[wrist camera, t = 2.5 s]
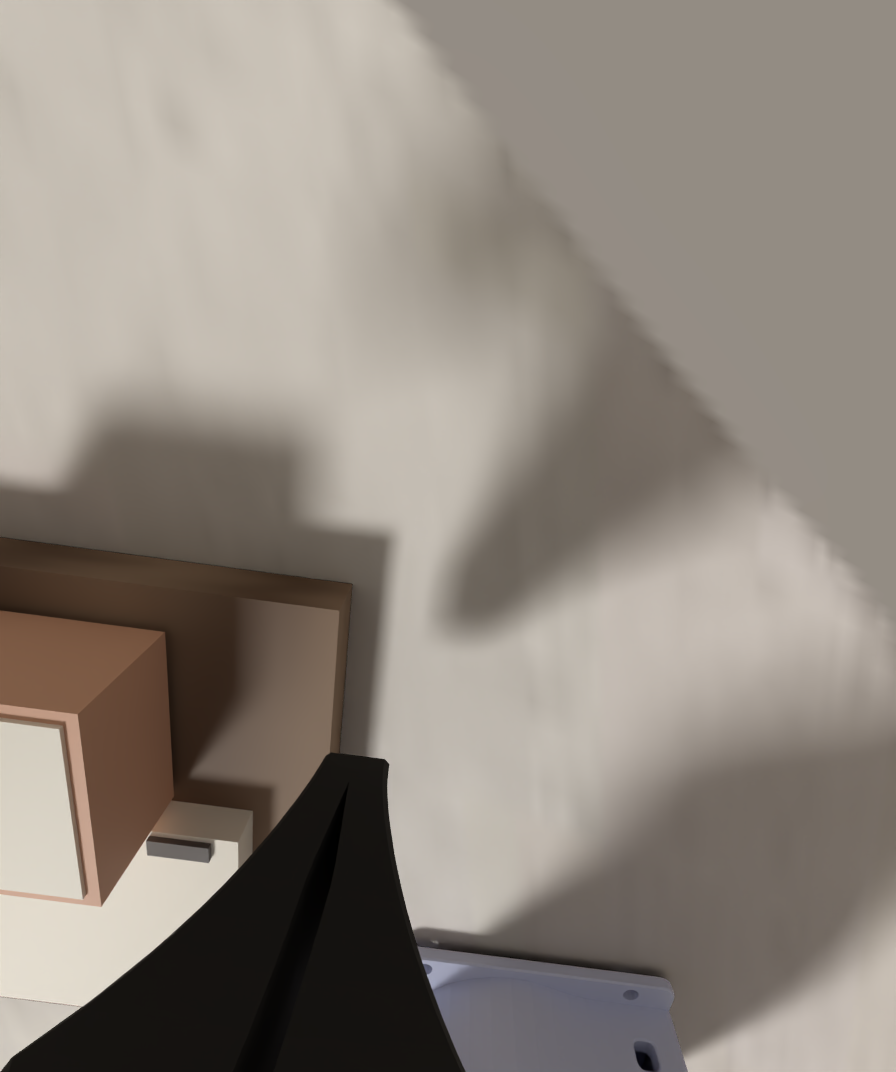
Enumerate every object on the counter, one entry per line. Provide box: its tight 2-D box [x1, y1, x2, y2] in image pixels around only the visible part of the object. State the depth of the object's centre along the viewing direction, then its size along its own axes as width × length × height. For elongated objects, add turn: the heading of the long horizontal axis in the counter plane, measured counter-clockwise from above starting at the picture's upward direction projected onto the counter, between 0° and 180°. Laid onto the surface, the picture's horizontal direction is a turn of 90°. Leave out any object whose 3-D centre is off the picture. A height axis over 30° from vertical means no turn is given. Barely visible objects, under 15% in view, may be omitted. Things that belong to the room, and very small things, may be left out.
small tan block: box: [0, 610, 174, 907], centre depth 12 cm, size 5×5×3 cm
